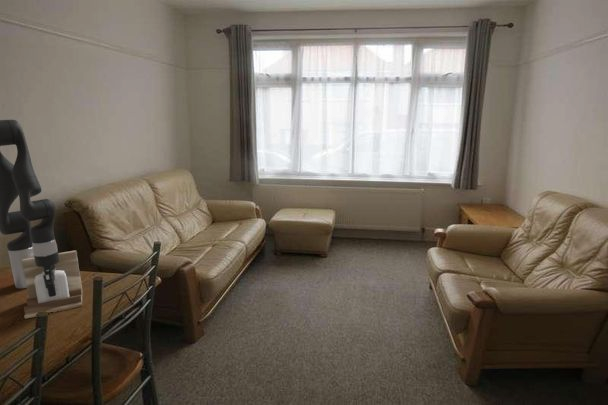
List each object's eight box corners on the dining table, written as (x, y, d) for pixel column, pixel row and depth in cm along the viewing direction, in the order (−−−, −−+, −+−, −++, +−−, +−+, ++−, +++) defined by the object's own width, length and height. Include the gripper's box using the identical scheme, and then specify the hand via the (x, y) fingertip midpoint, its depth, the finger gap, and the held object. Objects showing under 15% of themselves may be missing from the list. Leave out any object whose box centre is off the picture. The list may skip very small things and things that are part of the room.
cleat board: (30, 300, 147) (22, 258, 143) (82, 290, 156) (76, 250, 152) (24, 318, 134) (15, 273, 130) (81, 306, 143) (74, 262, 139)
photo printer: (69, 295, 147) (65, 266, 145) (70, 299, 144) (65, 270, 141) (38, 302, 142) (33, 272, 139) (38, 307, 138) (32, 276, 136)
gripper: (35, 248, 143) (43, 288, 146) (31, 259, 131) (39, 303, 134) (58, 244, 146) (65, 284, 150) (56, 255, 134) (63, 298, 138)
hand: (53, 293), depth 142 cm, fingers closed on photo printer, 4 cm apart
